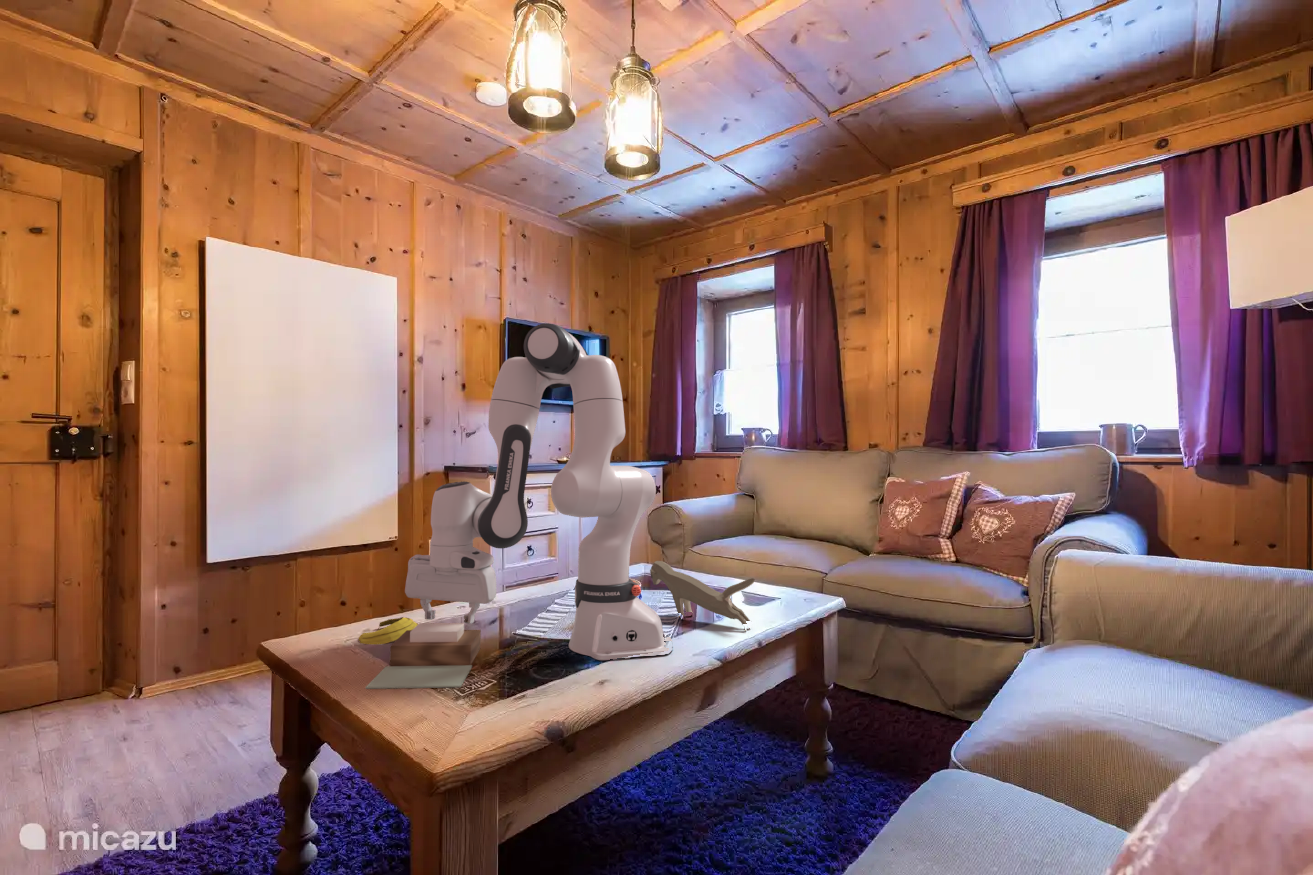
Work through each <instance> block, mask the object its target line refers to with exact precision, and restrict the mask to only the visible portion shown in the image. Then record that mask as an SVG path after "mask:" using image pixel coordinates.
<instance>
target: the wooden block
mask: <svg viewBox="0 0 1313 875" xmlns="http://www.w3.org/2000/svg"><path fill="white" fill-rule="evenodd" d="M411 631H412V630H407V631H406V632H405V633H404V634H402V635H401V636H400V637H399V638H398V639H397V640H396V641H393V643H391V644H390V647H389V666H451V665H472V664H473V662H474V661H475V658H476V657H477V655H478V653H479V652H480V650H481V638H482V636H481V634H482V633H481V632H482V631H481V629H464V633H463V635H462V636H461V638H460V639H459V640H458V642H410V632H411Z"/></svg>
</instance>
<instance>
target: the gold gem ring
mask: <svg viewBox="0 0 1313 875" xmlns="http://www.w3.org/2000/svg"><path fill="white" fill-rule="evenodd" d="M418 624H419V623H417V622H415V621H414V620H413V619H412V618H409V617H404V616H401V617H396V618H390V619H389V618H388V619H386V620H384V621H380V622H379V624H378V628H377V630H376V631H371V632H370V631H369V632H363V633H362V634H360V635H359V637H358V642H359V641H360V642H359V643H360V644H364V645H385V644H389V643H392V642H393V643H394V642H395V641H396V640H397V639H398V638H399V637H400V636H401V635H402V634H404V633H405V632H406V631H407V630H413V629H414V628H415V627H416V626H417V625H418ZM380 627H381V629H380ZM382 627H383V628H382Z"/></svg>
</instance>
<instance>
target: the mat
mask: <svg viewBox="0 0 1313 875" xmlns="http://www.w3.org/2000/svg"><path fill="white" fill-rule="evenodd" d="M471 669H473V665H472V664H471V665H451V666H390V665H388V666H385V667H384V668H383V669H382V670H381V671H380V672H379V673H378V674H377V675H376V676H375V677H374V678H373V679H372V680H371V681H370V682H369V683H368V684H367V685H366V686H365V689H367V690H371V689H372V690H374V689H380V690H381V689H425V688H426V689H427V688H429V689H430V688H431V689H433V688H438V689H439V688H441V689H442V688H461V687H462V686H463V683H464V682H465V680H466V678H467V677H468V675H469V673H470V672H471Z"/></svg>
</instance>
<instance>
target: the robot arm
mask: <svg viewBox="0 0 1313 875" xmlns="http://www.w3.org/2000/svg"><path fill="white" fill-rule="evenodd" d="M523 351H524V356H525V357H523V356H514V357H509V358H508V359H506V360H505V361H504V362H503V363H502V365H501V367H500V370H499V372H498V374H497V377H496V379H495V380H496V381H495V383H494V387H493V390H492V393H491V397H490V398H491V399H490V403H489V409H488V431H489V434H490V435H491V436H492V438H493V440H494V443H495V445H496V448H497V453H498V454H497V456H498V457H497V458H498V459H497V466H496V471H495V473H496V474H495V480H494V487H493V490H492V491H493V492H492V494H491V493H489V492H486V491H484V490H481V489H480V488H478V487H477V486H475V485H474V484H472V483H471V482H470V481H455V482H449V483H446V484H442V485H440V486H439V487H438V488H436V490H435V491H434V493H433V497H432V504H431V511H430V512H431V513H430V526H431V532H432V535H431V538H430V543H429V554H423V555H422V554H415V555H413V556H411V557H410V558H409V560H408V561H407V574H406V575H407V576H406V581H405V588H404V594H405V595H406V597H407V598H410V599H420V601H419V604H420V605H421V607H422V608H421V609H422V611H424V620H427V621H428V620H429V621H430V620H434V619H435V618H436V610H435V609H433V608H432V606H431V602H432V601H433V600H435V601H446V602H456V603H457V602H458V603H468V608H469V609H470V610H469V612H468V613H466V614H464V615H463V618H464V620H463V623H464V624H473V623H474V622H475V614H476V613H477V611H478V609H479V608H480V606H481V604H482V605H485V604H489V603H491V602H492V601H494V600H495V598H496V597H497V577H496V571H495V568H493V567H492V565H493V564H494V561H495V557H494V555H493V554H490V553H488V552H486V551H483V550H481V549H479V548H478V547H477V548H476V547H475V546H474V539H475V538H481V539H482V540H483V541H484V543H485V544H487V545H488V546H490V547H492V548H496V549H507V548H510V547H513V546H515V545H516V544H518V543H519V542H520V541H521V540H522V539H523V538H524V536H525V534H526V533H527V529H528V525H529V524H528V522H529V521H528V514H527V511H526V506H525V505H526V504H525V489H526V482H527V475H528V469H529V461H530V460H529V459H530V453H531V446H532V442H533V439H534V434H535V431H536V427H537V423H538V419H539V414H540V409H541V402H542V398H543V395H544V392H545V390H546V388H550V389H558V388H565V387H570V388H571V391H572V406H573V420H574V421H573V422H574V439H573V446H572V451H571V454H570V456H569V458H568V461H567V462H566V464H565V465H564V466H563V468H561V470H559V471H558V472H557V474H556V475H554V479H553V480H552V482H551V488H550V497H551V501H552V503H553V506H554V508H555V509H556V511H558V512H559V513H560V514H561V515H564V516H570V517H575V518H584V519H585V518H597V519H596V523H595V525H594V527H593V528H592V530H591V531H590V532H589V533H588V534H587V535H585V537H584V538H583V539H582V540H581V541H580V543H579V547H578V560H577V562H578V565H577V566H578V567H577V569H578V570H577V579H576V581H575V585H574V605H575V614H574V621H573V626H572V627H573V628H572V632H571V636H570V638H569V641H568V642H569V643H568V648H569V650H571V651H572V652H574V653H577V654H580V655H584V656H589V657H591V658H593V659H594V660H597V661H609V660H610V659H613V660H618V659H617V658H622V657H628V656H633V655H640V654H648V653H653V652H664V651H668V650H669V648H666V647H664V645H666V643H665V642H664V641H672V642H673V640H672V638H671V637H670V636H669V637H667V638H666V639H665V640H664V637H663V633H664V629H663V624H662V620H661V617H660V616H659V614H658V613H657V612H656V610H654V609H653V608H651V607H650V606H649V605H648V604H646V603H645V602H644V601H643V600H641V599H640V598H639V597H638V596H640V595H641V594H642V589H641V586H640V585H638V583H637V582H636V581H635V580H632V579H630V558H631V557H630V556H631V545H632V541H633V538H634V535H635V534H634V533H635V532H636V528H637V526H638V524H639V521H640V519H641V518H642V516H643V514H644V513H645V512H646V511H647V510H648V509H649V508H650V507H651V506H652V504H653V503H654V500H655V499H656V498H655V497H656V493H657V487H656V486H657V485H656V481H655V480H654V477H653V476H652V474H651V473H650V472H649V471H647V470H645V469H642V468H639V467H635V466H631V465H611V457H612V452H613V450H614V449H615V448H616V447H617V446H619V444H621V443H622V442H623V440H624V439H625V436H626V422H625V421H626V420H625V413H624V410H625V409H624V402H623V400H624V399H623V394H622V386H621V382H620V378H619V373H618V370H617V367H616V364H615V362H614V361H613V360H612V359H611V358H609V357H608V356H604V355H601V354H591V355H590V354H589V353H588V352H587V350H586V349H585V348H584V347H583V346H582V345H581V343H580V342H579V341H578V339H577V338H576V337H575V336H573V334H571V333H569V332H568V331H567V330H566V329H565V328H563V327H562V326H560V325H557V324H554V323H551V322H550V323H549V322H545V323H539V324H537V325H535V326H533V327H532V328H531V329H530V330H529V331H528V332H527V333H526V335H525V337H524V341H523ZM610 661H611V660H610Z"/></svg>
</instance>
